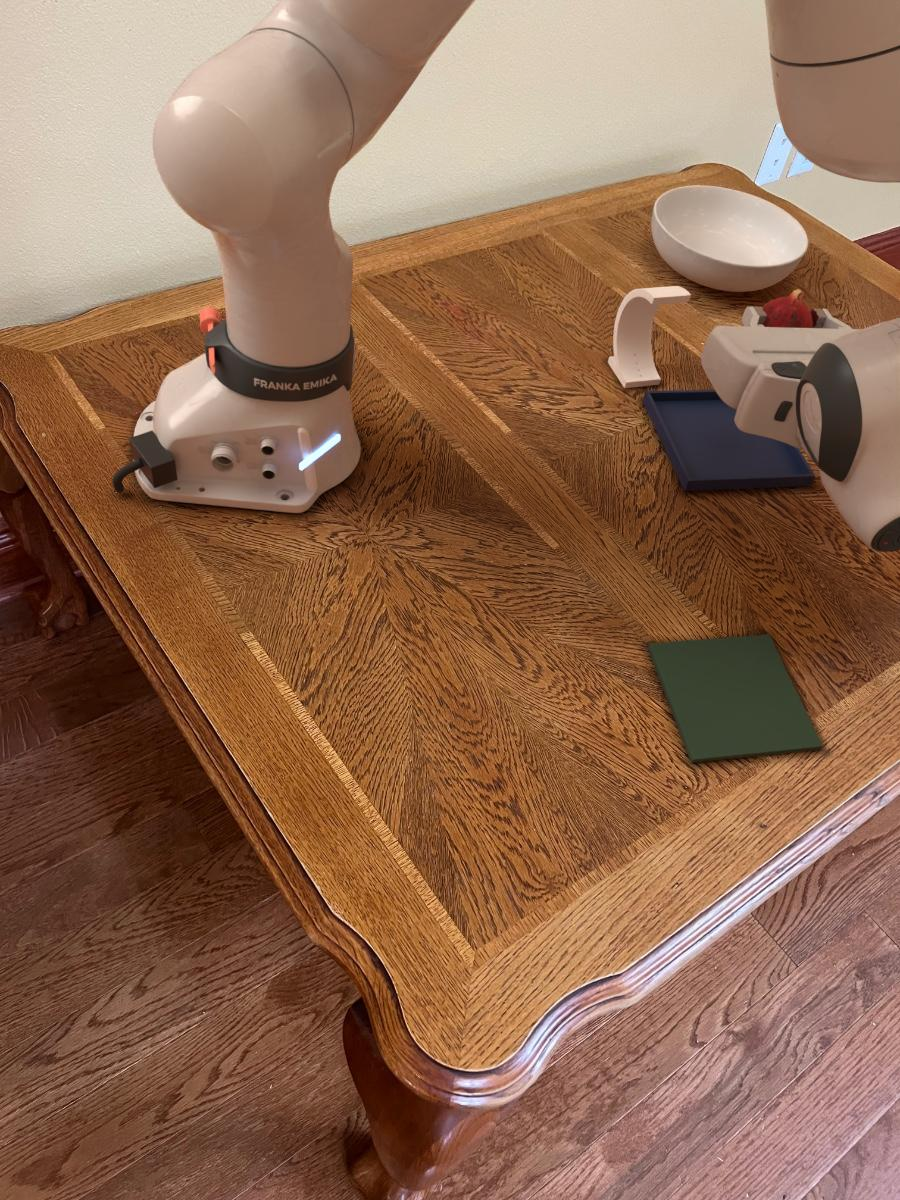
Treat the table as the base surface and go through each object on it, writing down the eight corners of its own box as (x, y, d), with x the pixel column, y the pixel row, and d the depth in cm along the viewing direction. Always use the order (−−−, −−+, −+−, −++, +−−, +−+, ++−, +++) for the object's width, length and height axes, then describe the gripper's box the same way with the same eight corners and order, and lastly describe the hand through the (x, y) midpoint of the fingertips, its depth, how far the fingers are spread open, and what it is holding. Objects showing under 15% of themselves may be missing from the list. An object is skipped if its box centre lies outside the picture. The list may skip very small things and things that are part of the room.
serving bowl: (807, 267, 133) (828, 221, 127) (758, 333, 120) (779, 285, 115) (674, 213, 138) (689, 167, 133) (614, 271, 126) (628, 222, 120)
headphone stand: (624, 388, 109) (653, 298, 100) (604, 357, 113) (630, 266, 104) (659, 384, 111) (691, 295, 102) (638, 353, 114) (667, 264, 105)
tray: (684, 491, 99) (688, 480, 98) (642, 401, 108) (645, 390, 107) (809, 486, 102) (815, 476, 101) (758, 398, 111) (763, 388, 110)
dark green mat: (690, 763, 78) (693, 759, 77) (646, 647, 85) (648, 643, 85) (820, 749, 80) (823, 746, 80) (766, 637, 88) (769, 634, 87)
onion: (795, 384, 94) (829, 314, 88) (738, 371, 94) (768, 300, 88) (794, 351, 97) (827, 282, 91) (739, 338, 98) (768, 269, 92)
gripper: (960, 376, 83) (892, 288, 92) (747, 373, 80) (697, 281, 88) (924, 431, 88) (863, 342, 97) (721, 430, 84) (677, 338, 93)
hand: (782, 313), depth 92 cm, fingers closed on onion, 5 cm apart
